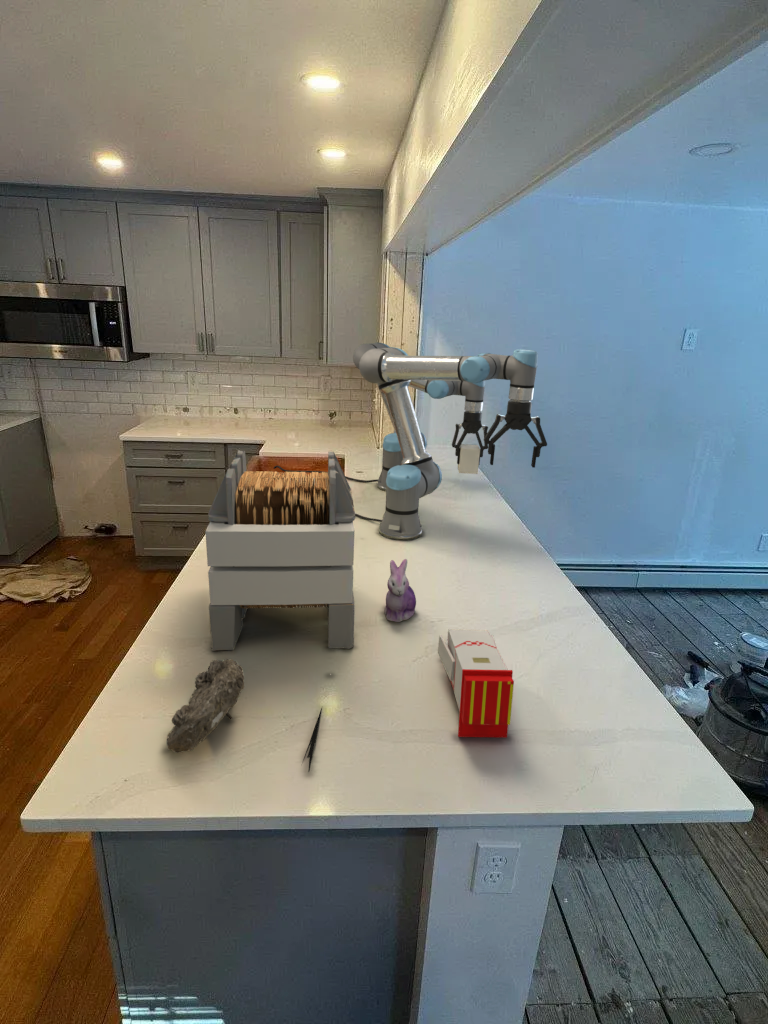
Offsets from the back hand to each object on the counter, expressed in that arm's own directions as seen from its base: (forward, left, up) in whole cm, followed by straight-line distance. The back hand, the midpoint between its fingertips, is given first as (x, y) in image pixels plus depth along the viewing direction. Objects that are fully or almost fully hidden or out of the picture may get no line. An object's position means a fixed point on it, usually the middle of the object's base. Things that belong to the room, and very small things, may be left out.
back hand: (468, 463), depth 246 cm
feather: (+26, -155, -13) cm, 158 cm away
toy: (+48, -132, -13) cm, 141 cm away
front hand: (+31, -48, +15) cm, 59 cm away
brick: (0, 0, -3) cm, 3 cm away
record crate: (-3, -126, -13) cm, 127 cm away
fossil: (+8, -164, -13) cm, 165 cm away
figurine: (+22, -111, -13) cm, 114 cm away
